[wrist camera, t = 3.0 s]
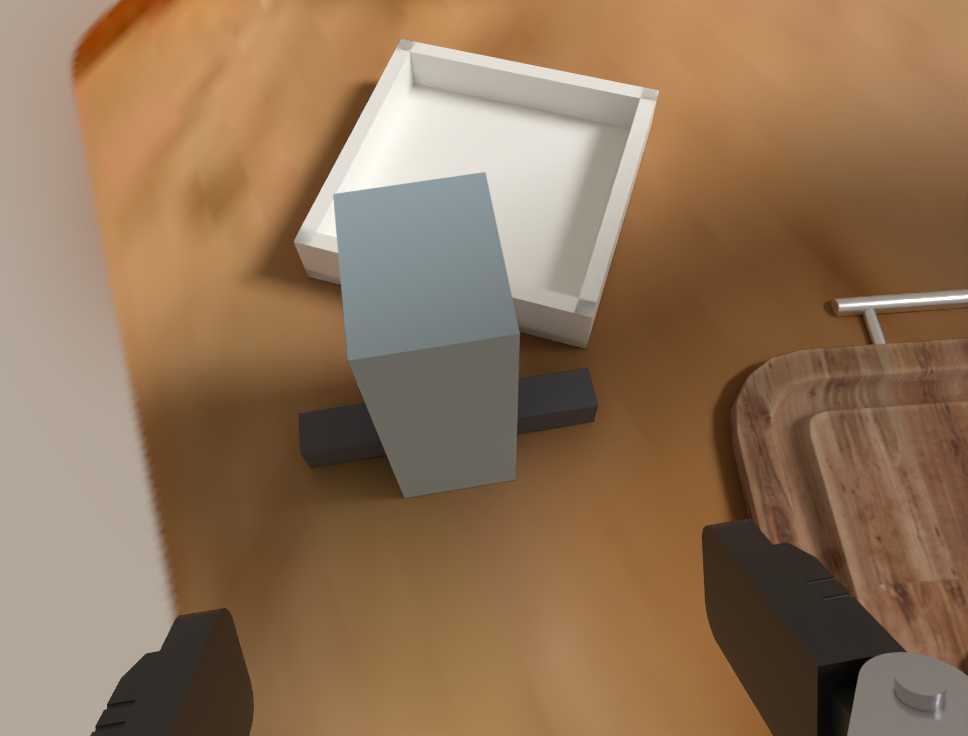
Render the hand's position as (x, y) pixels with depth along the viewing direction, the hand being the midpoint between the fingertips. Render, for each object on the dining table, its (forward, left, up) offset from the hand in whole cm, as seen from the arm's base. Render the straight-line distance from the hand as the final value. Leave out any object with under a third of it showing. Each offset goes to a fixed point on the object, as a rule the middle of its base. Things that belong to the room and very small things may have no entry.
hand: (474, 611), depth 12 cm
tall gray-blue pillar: (-8, -4, -14) cm, 17 cm away
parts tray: (-19, -6, -14) cm, 24 cm away
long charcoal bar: (-8, -4, -14) cm, 17 cm away
